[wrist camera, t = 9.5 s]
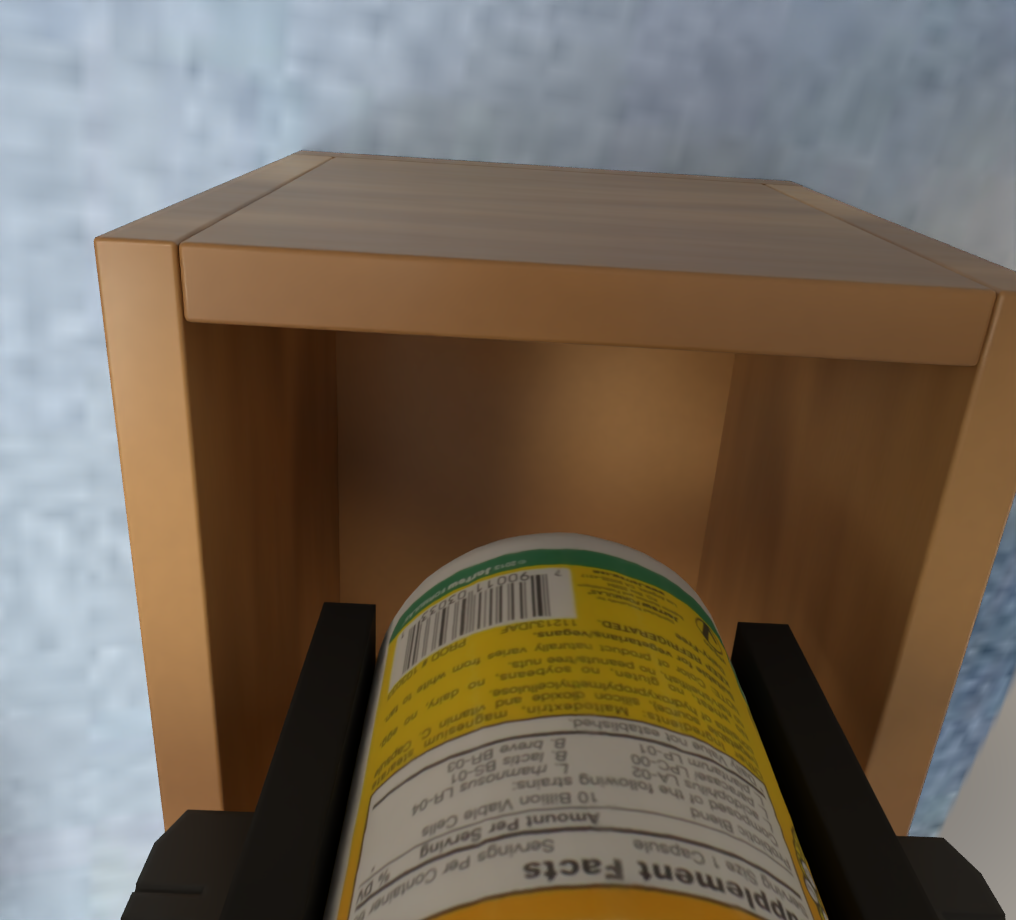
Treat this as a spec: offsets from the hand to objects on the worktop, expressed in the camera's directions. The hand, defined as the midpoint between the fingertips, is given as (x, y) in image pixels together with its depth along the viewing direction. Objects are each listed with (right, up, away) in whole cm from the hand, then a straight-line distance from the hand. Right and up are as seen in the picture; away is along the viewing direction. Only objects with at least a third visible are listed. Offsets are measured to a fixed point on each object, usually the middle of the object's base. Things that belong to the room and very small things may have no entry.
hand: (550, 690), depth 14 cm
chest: (0, +3, +12) cm, 12 cm away
